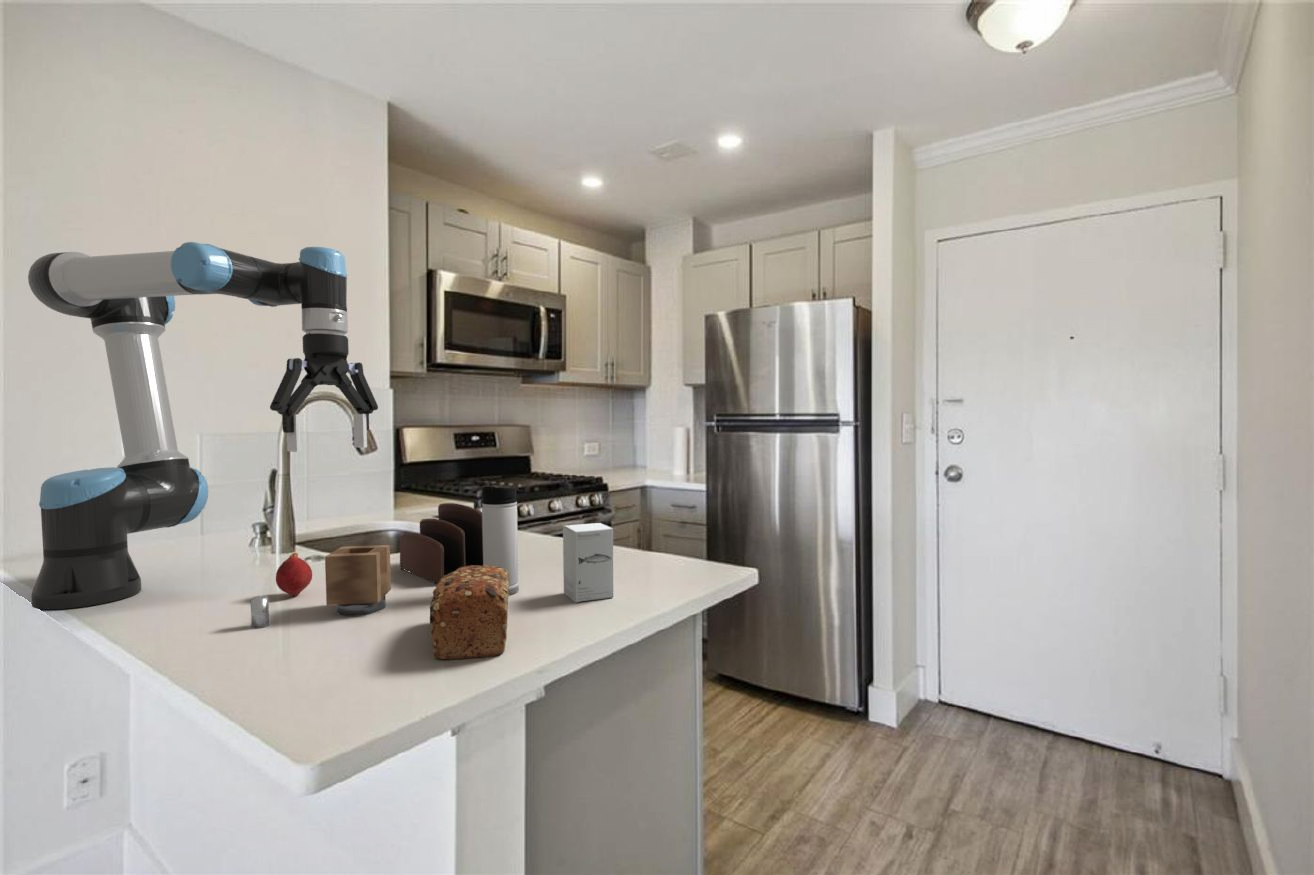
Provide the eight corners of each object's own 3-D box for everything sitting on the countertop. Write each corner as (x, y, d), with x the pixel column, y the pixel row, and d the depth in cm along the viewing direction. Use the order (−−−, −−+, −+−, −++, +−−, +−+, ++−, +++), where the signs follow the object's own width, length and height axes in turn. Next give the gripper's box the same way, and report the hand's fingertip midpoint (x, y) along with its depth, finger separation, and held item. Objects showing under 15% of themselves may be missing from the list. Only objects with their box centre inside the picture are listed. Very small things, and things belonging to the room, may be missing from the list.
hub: (326, 612, 109) (325, 569, 108) (365, 600, 115) (364, 560, 115) (357, 618, 105) (356, 574, 105) (395, 605, 112) (394, 564, 112)
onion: (296, 601, 115) (294, 556, 115) (268, 600, 116) (267, 555, 116) (319, 592, 121) (318, 550, 121) (292, 591, 122) (291, 549, 122)
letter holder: (443, 561, 146) (441, 499, 145) (488, 577, 131) (486, 508, 131) (399, 569, 139) (397, 504, 138) (441, 587, 124) (440, 514, 124)
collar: (326, 605, 106) (324, 556, 105) (343, 591, 114) (341, 546, 113) (377, 602, 107) (376, 554, 107) (390, 589, 115) (389, 544, 114)
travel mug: (475, 595, 118) (473, 485, 117) (497, 586, 124) (495, 482, 123) (504, 598, 115) (502, 487, 115) (525, 589, 121) (523, 483, 121)
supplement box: (574, 603, 112) (573, 531, 111) (562, 593, 119) (561, 524, 118) (614, 598, 115) (613, 527, 114) (601, 588, 122) (600, 521, 121)
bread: (508, 657, 88) (507, 585, 88) (426, 664, 86) (424, 590, 85) (511, 615, 106) (510, 555, 106) (443, 620, 104) (442, 559, 104)
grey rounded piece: (248, 626, 101) (247, 599, 101) (263, 622, 104) (262, 595, 103) (257, 629, 100) (256, 601, 100) (272, 624, 102) (271, 597, 102)
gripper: (271, 325, 106) (275, 454, 107) (395, 339, 129) (397, 446, 129) (244, 328, 110) (248, 453, 111) (369, 341, 132) (372, 445, 133)
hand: (329, 449), depth 120 cm, fingers open, 13 cm apart
